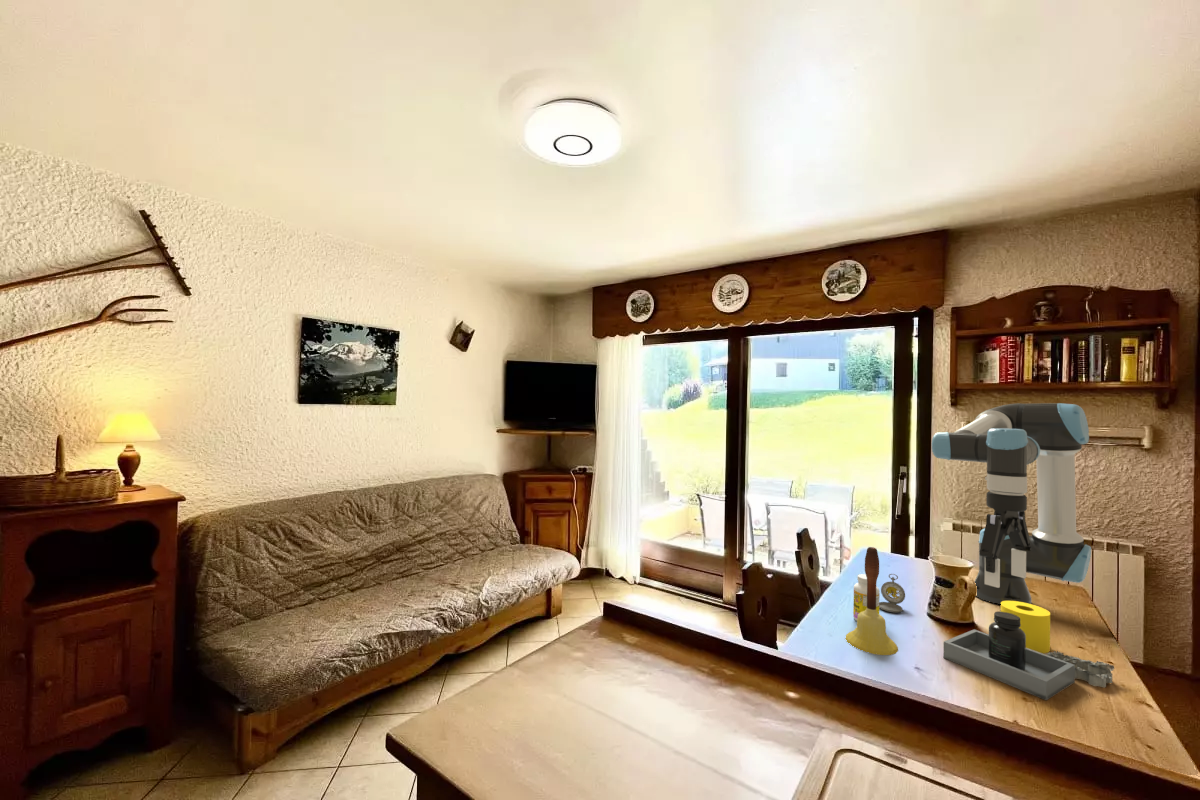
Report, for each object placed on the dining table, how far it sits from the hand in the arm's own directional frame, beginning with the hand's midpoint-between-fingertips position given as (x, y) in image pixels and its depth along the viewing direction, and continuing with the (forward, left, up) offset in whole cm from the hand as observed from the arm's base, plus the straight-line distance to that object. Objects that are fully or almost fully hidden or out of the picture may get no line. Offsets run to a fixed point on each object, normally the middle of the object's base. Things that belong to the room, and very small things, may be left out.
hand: (1005, 581), depth 119 cm
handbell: (+17, -22, -21) cm, 35 cm away
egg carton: (-12, +10, -21) cm, 26 cm away
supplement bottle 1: (+5, -31, -21) cm, 38 cm away
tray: (+1, +1, -21) cm, 21 cm away
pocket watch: (-11, -33, -21) cm, 41 cm away
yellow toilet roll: (-20, -3, -21) cm, 29 cm away
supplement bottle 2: (0, +1, -20) cm, 20 cm away
